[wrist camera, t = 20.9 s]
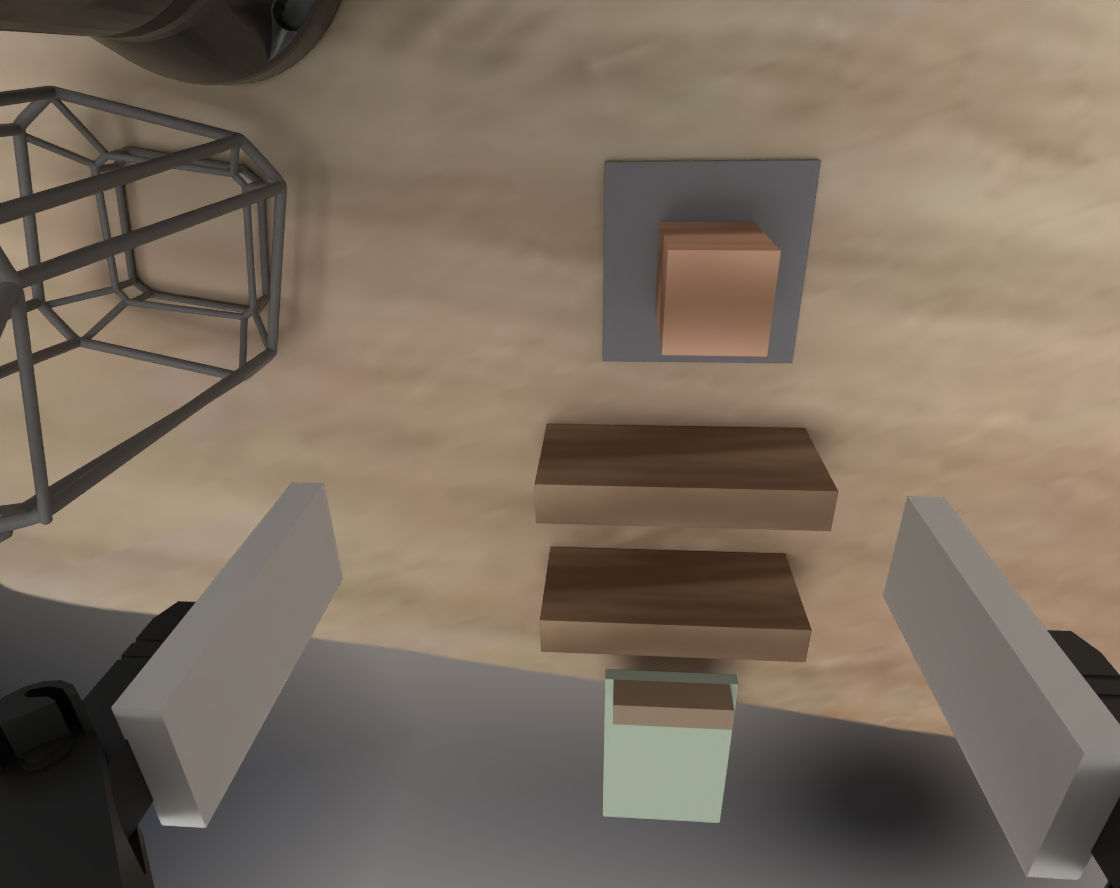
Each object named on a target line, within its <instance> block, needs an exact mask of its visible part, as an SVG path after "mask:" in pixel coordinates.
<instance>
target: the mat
mask: <svg viewBox="0 0 1120 888" xmlns="http://www.w3.org/2000/svg"><path fill="white" fill-rule="evenodd" d="M820 163H821V160H818V159H809V160H713V161H617V162H605V218H604V304H603V361H634V362H734V363H792V359H793V352H794V345H795V338H796V331H797V324H798V317H799V310H800V303H801V296H802V289H803V282H804V275H805V268H806V261H807V254H808V247H809V240H810V233H811V226H812V219H813V212H814V205H815V198H816V191H817V184H818V177H819V170H820ZM660 222H754V223H755V224H756V225H757V226H758V227H759V228H760V229H761V230H762V231H763V232H764V233H765V234H766V235H767V236H768V237H769V239H770V240H771V241H772V242H773V243H774V244H775V245H776V246H777V247H778V248H779V249H780V250H781V254H780V261H779V269H778V277H777V284H776V292H775V299H774V307H773V315H772V322H771V330H770V337H769V345H768V353H767V357H762V356H696V355H662V353H661V347H660V341H659V334H658V328H657V321H656V315H655V304H656V285H657V266H658V247H659V228H660Z"/></svg>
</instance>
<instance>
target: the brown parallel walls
mask: <svg viewBox="0 0 1120 888" xmlns="http://www.w3.org/2000/svg"><path fill="white" fill-rule="evenodd" d="M837 496H838V490H837V488H836V486H835V484H834V482H833V480H832V479H831V477H830V475H829V473H828V471H827V469H826V467H825V465H824V463H823V462H822V460H821V458H820V456H819V454H818V452H817V450H816V448H815V447H814V445H813V443H812V441H811V439H810V437H809V435H808V433H807V431H806V430H805V428H754V427H694V426H634V425H573V424H547V426H546V431H545V436H544V441H543V446H542V451H541V456H540V460H539V465H538V470H537V475H536V480H535V508H536V523H551V524H588V525H625V526H662V527H699V528H737V529H774V530H811V531H831V527H832V522H833V516H834V511H835V506H836V501H837ZM811 631H812V630H811V627H810V624H809V621H808V618H807V616H806V613H805V610H804V607H803V604H802V601H801V598H800V596H799V593H798V590H797V587H796V584H795V581H794V578H793V576H792V573H791V570H790V567H789V564H788V561H787V558H786V556H785V554H773V553H739V552H705V551H671V550H637V549H603V548H569V547H550V553H549V560H548V567H547V574H546V581H545V588H544V595H543V602H542V609H541V616H540V637H541V652H565V653H590V654H615V655H640V656H664V657H689V658H714V659H739V660H764V661H789V662H806V657H807V652H808V647H809V642H810V636H811Z"/></svg>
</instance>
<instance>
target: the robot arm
mask: <svg viewBox="0 0 1120 888" xmlns="http://www.w3.org/2000/svg"><path fill="white" fill-rule="evenodd" d="M340 1H341V0H0V31H16V32H31V33H47V34H63V35H78V36H90V37H91V38H93V39H95V40H96V41H98V42H100V43H101V44H103V45H104V46H106V47H108V48H109V49H111V50H113V51H114V52H116V53H118V54H119V55H121V56H123V57H124V58H126V59H127V60H129V61H131V62H132V63H134V64H136V65H138V66H140V67H142V68H144V69H146V70H149V71H151V72H153V73H156V74H158V75H161V76H164V77H167V78H171V79H174V80H178V81H182V82H187V83H192V84H201V85H236V84H246V83H252V82H256V81H260V80H264V79H267V78H269V77H272V76H274V75H276V74H279V73H281V72H283V71H284V70H286V69H288V68H289V67H291V66H292V65H294V64H295V63H296V62H298V61H299V60H300V59H301V58H303V57H304V56H305V55H306V54H307V53H308V52H309V51H310V50H311V49H312V48H313V47H314V46H315V44H316V43H317V42H318V41H319V40H320V38H321V37H322V35H323V34H324V32H325V31H326V30H327V28H328V26H329V24H330V23H331V21H332V19H333V17H334V15H335V13H336V11H337V9H338V6H339V4H340ZM342 579H343V576H342V571H341V566H340V561H339V556H338V551H337V546H336V541H335V536H334V531H333V526H332V521H331V516H330V511H329V506H328V501H327V496H326V491H325V486H324V483H291V485H290V486H289V487H288V488H287V489H286V491H285V492H284V493H283V494H282V496H281V497H280V498H279V499H278V501H277V502H276V503H275V504H274V506H273V507H272V508H271V509H270V511H269V512H268V513H267V514H266V516H265V517H264V518H263V519H262V521H261V522H260V523H259V524H258V526H257V527H256V528H255V529H254V531H253V532H252V533H251V534H250V535H249V537H248V538H247V539H246V540H245V542H244V543H243V544H242V545H241V547H240V548H239V549H238V550H237V552H236V553H235V554H234V555H233V557H232V558H231V559H230V560H229V562H228V563H227V564H226V565H225V567H224V568H223V569H222V570H221V572H220V573H219V574H218V575H217V577H216V578H215V579H214V580H213V582H212V583H211V584H210V585H209V586H208V588H207V589H206V590H205V591H204V593H203V594H202V595H201V596H200V598H199V599H198V600H197V601H196V602H182V601H178V602H177V603H175V604H174V605H172V606H171V607H169V608H168V609H166V610H165V611H164V612H162V613H161V614H159V615H158V616H156V617H155V618H153V619H152V621H151V622H150V623H149V624H148V625H147V626H146V627H145V629H144V630H143V631H142V632H141V633H140V635H139V636H138V637H137V638H136V642H135V643H132V644H131V645H130V646H129V647H128V648H127V650H126V651H125V652H124V653H123V654H122V658H121V660H117V661H116V662H115V664H114V665H113V666H112V667H111V668H110V669H109V671H108V672H107V673H106V674H105V675H104V677H103V678H102V679H101V680H100V681H99V682H98V683H97V685H96V686H95V687H94V688H93V689H92V691H91V692H90V693H89V694H88V695H87V696H86V698H85V699H84V700H83V701H81V698H80V696H79V694H78V692H77V690H76V689H75V687H74V686H73V684H70V683H67V682H64V681H61V680H58V681H43V682H39V683H36V684H32V685H29V686H25V687H23V688H21V689H19V690H17V691H15V692H13V693H11V694H9V695H6V696H5V697H3V698H2V699H1V700H0V888H154V883H153V879H152V874H151V869H150V865H149V860H148V855H147V850H146V846H145V841H144V836H143V834H142V832H141V829H140V827H139V825H138V824H139V822H140V820H141V819H142V818H143V816H144V815H145V813H146V811H147V810H148V808H149V807H150V805H151V803H153V805H154V808H155V809H156V812H157V814H158V817H159V819H160V821H161V824H162V825H169V826H185V827H202V828H206V827H207V824H208V823H209V821H210V819H211V817H212V816H213V814H214V812H215V810H216V808H217V807H218V804H219V803H220V801H221V799H222V797H223V795H224V794H225V792H226V790H227V788H228V786H229V785H230V783H231V781H232V779H233V777H234V776H235V774H236V772H237V770H238V768H239V766H240V765H241V763H242V761H243V759H244V757H245V756H246V754H247V752H248V750H249V748H250V746H251V745H252V743H253V741H254V739H255V737H256V736H257V734H258V732H259V730H260V728H261V726H262V724H263V723H264V721H265V719H266V717H267V715H268V713H269V712H270V710H271V708H272V706H273V705H274V703H275V701H276V699H277V697H278V695H279V694H280V692H281V690H282V688H283V686H284V685H285V683H286V681H287V679H288V677H289V675H290V674H291V672H292V670H293V668H294V666H295V664H296V663H297V661H298V659H299V657H300V655H301V654H302V652H303V650H304V648H305V646H306V645H307V643H308V641H309V639H310V637H311V635H312V634H313V632H314V630H315V628H316V626H317V624H318V623H319V621H320V619H321V617H322V615H323V614H324V612H325V610H326V608H327V606H328V604H329V603H330V601H331V599H332V597H333V595H334V594H335V592H336V590H337V588H338V586H339V584H340V583H341V581H342ZM883 596H884V598H885V600H886V602H887V604H888V606H889V608H890V610H891V612H892V614H893V616H894V618H895V620H896V622H897V624H898V626H899V628H900V630H901V632H902V634H903V636H904V638H905V640H906V641H907V643H908V645H909V647H910V649H911V651H912V653H913V655H914V657H915V659H916V661H917V663H918V665H919V667H920V669H921V671H922V673H923V675H924V677H925V679H926V681H927V683H928V685H929V686H930V688H931V690H932V692H933V694H934V696H935V698H936V700H937V702H938V704H939V706H940V708H941V710H942V712H943V714H944V716H945V718H946V720H947V722H948V724H949V726H950V728H951V730H952V732H953V733H954V735H955V737H956V739H957V741H958V743H959V745H960V747H961V749H962V751H963V753H964V755H965V757H966V759H967V761H968V763H969V765H970V767H971V769H972V771H973V773H974V775H975V777H976V778H977V780H978V782H979V784H980V786H981V788H982V790H983V792H984V794H985V796H986V798H987V800H988V802H989V804H990V806H991V808H992V810H993V812H994V814H995V816H996V818H997V820H998V822H999V824H1000V825H1001V827H1002V829H1003V831H1004V833H1005V835H1006V837H1007V839H1008V841H1009V843H1010V845H1011V847H1012V849H1013V851H1014V853H1015V855H1016V857H1017V859H1018V861H1019V863H1020V865H1021V867H1022V869H1023V870H1024V873H1025V874H1026V876H1027V877H1041V878H1058V879H1076V880H1079V879H1080V877H1081V875H1082V873H1083V871H1084V869H1085V867H1086V866H1087V864H1088V862H1089V860H1090V858H1091V856H1092V855H1093V856H1094V858H1095V860H1096V861H1097V863H1098V864H1099V866H1100V868H1101V869H1102V871H1103V873H1104V874H1105V876H1106V878H1107V879H1108V882H1107V884H1106V886H1105V888H1120V675H1119V674H1118V672H1117V671H1116V670H1115V669H1114V668H1113V666H1112V665H1111V664H1110V663H1109V662H1108V661H1107V659H1106V658H1105V657H1104V656H1103V655H1102V653H1101V652H1100V651H1098V650H1097V649H1095V648H1094V647H1093V646H1091V645H1090V644H1088V643H1087V642H1086V641H1084V640H1083V639H1081V638H1080V637H1079V636H1077V635H1076V634H1074V633H1073V632H1072V631H1054V630H1046V629H1045V627H1044V626H1043V625H1042V623H1041V622H1040V621H1039V620H1038V618H1037V617H1036V616H1035V614H1034V613H1033V612H1032V611H1031V609H1030V608H1029V607H1028V605H1027V604H1026V603H1025V601H1024V600H1023V599H1022V598H1021V596H1020V595H1019V594H1018V592H1017V591H1016V590H1015V589H1014V587H1013V586H1012V585H1011V583H1010V582H1009V581H1008V580H1007V578H1006V577H1005V576H1004V574H1003V573H1002V572H1001V570H1000V569H999V568H998V567H997V565H996V564H995V563H994V561H993V560H992V559H991V558H990V556H989V555H988V554H987V552H986V551H985V550H984V549H983V547H982V546H981V545H980V543H979V542H978V541H977V540H976V538H975V537H974V536H973V534H972V533H971V532H970V530H969V529H968V528H967V527H966V525H965V524H964V523H963V521H962V520H961V519H960V518H959V516H958V515H957V514H956V512H955V511H954V510H953V509H952V507H951V506H950V505H949V503H948V502H947V501H946V499H945V498H944V497H916V496H907V500H906V504H905V508H904V512H903V516H902V520H901V524H900V529H899V533H898V537H897V541H896V545H895V549H894V553H893V557H892V561H891V565H890V570H889V574H888V578H887V582H886V586H885V590H884V594H883Z"/></svg>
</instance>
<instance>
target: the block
mask: <svg viewBox="0 0 1120 888" xmlns="http://www.w3.org/2000/svg"><path fill="white" fill-rule="evenodd" d="M780 254H781V250H780V249H779V248H778V247H777V246H776V245H775V244H774V243H773V242H772V241H771V240H770V239H769V237H768V236H767V235H766V234H765V233H764V232H763V231H762V230H761V229H760V228H759V227H758V226H757V225H756V224H755V223H754V222H660V228H659V247H658V266H657V285H656V304H655V315H656V321H657V328H658V334H659V341H660V347H661V353H662V355H696V356H762V357H767V353H768V345H769V337H770V330H771V322H772V315H773V307H774V299H775V292H776V284H777V277H778V269H779V261H780Z"/></svg>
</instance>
